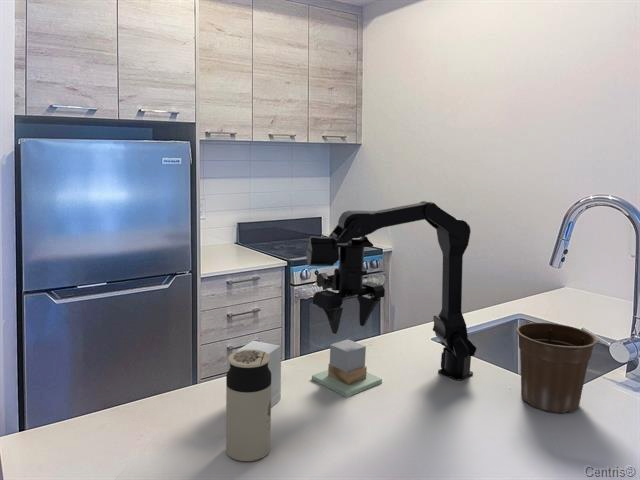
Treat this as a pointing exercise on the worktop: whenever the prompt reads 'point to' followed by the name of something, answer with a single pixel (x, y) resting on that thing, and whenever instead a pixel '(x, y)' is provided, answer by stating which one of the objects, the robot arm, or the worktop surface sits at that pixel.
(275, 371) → the supplement box
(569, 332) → the plant pot
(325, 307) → the robot arm
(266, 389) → the travel mug
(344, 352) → the slate block
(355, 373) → the walnut block
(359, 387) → the baseplate
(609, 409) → the worktop surface
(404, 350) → the worktop surface
